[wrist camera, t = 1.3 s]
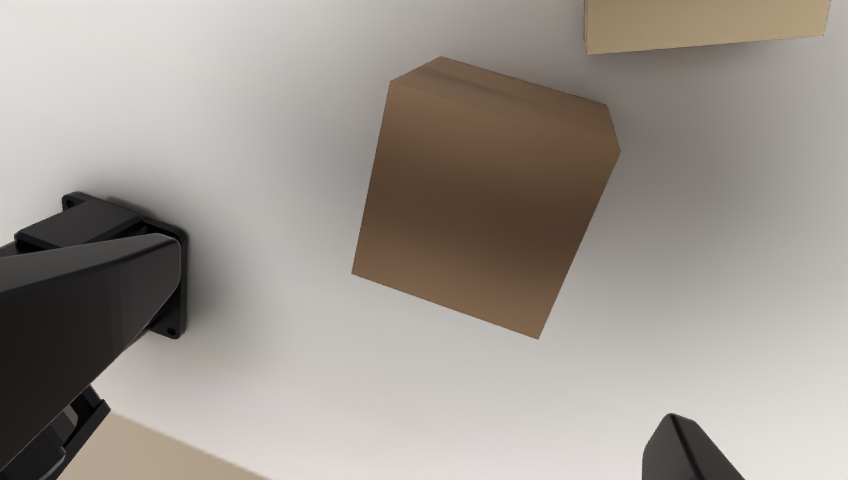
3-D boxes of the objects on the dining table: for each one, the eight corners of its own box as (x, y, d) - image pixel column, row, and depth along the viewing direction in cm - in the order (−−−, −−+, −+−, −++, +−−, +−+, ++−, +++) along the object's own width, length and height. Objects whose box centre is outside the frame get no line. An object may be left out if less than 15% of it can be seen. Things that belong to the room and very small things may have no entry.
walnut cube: (546, 251, 21) (538, 339, 16) (405, 204, 21) (351, 273, 16) (606, 104, 18) (620, 151, 13) (441, 56, 19) (390, 81, 13)
